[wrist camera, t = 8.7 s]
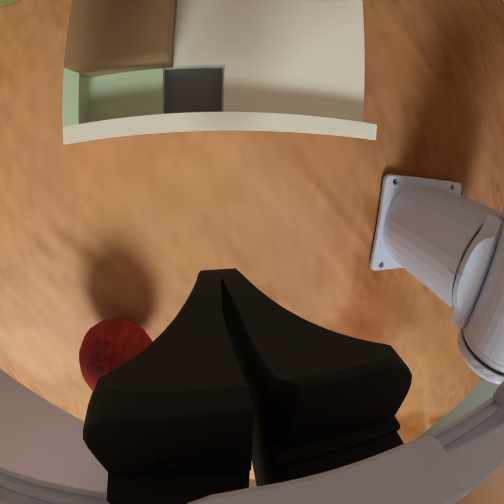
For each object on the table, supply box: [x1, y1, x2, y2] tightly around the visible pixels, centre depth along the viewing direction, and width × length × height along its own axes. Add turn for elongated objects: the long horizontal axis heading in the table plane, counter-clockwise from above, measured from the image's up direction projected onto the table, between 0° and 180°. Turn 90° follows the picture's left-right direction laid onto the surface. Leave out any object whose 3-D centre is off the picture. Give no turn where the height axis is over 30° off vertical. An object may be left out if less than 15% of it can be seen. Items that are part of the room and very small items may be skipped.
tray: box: [63, 0, 377, 145], centre depth 13 cm, size 18×13×3 cm
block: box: [64, 0, 178, 78], centre depth 11 cm, size 5×5×4 cm
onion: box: [79, 318, 153, 391], centre depth 18 cm, size 6×6×8 cm
